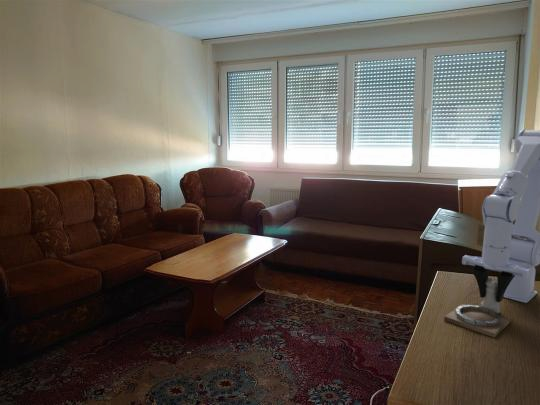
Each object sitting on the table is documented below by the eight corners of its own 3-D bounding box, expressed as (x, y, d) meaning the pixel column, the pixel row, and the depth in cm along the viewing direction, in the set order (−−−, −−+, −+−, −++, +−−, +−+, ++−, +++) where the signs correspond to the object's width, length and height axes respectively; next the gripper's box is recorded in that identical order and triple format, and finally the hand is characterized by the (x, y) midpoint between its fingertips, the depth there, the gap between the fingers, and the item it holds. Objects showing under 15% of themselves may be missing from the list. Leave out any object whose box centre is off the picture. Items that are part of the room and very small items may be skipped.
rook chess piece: (502, 315, 101) (506, 284, 99) (482, 314, 102) (485, 282, 100) (496, 307, 105) (500, 277, 104) (477, 306, 106) (480, 276, 104)
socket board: (461, 307, 105) (462, 300, 105) (510, 322, 97) (510, 314, 97) (444, 320, 99) (444, 312, 98) (494, 337, 91) (495, 328, 90)
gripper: (458, 242, 103) (454, 294, 105) (525, 255, 92) (518, 313, 95) (470, 236, 107) (465, 286, 110) (535, 248, 97) (528, 303, 100)
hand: (491, 298), depth 103 cm, fingers closed on rook chess piece, 3 cm apart
